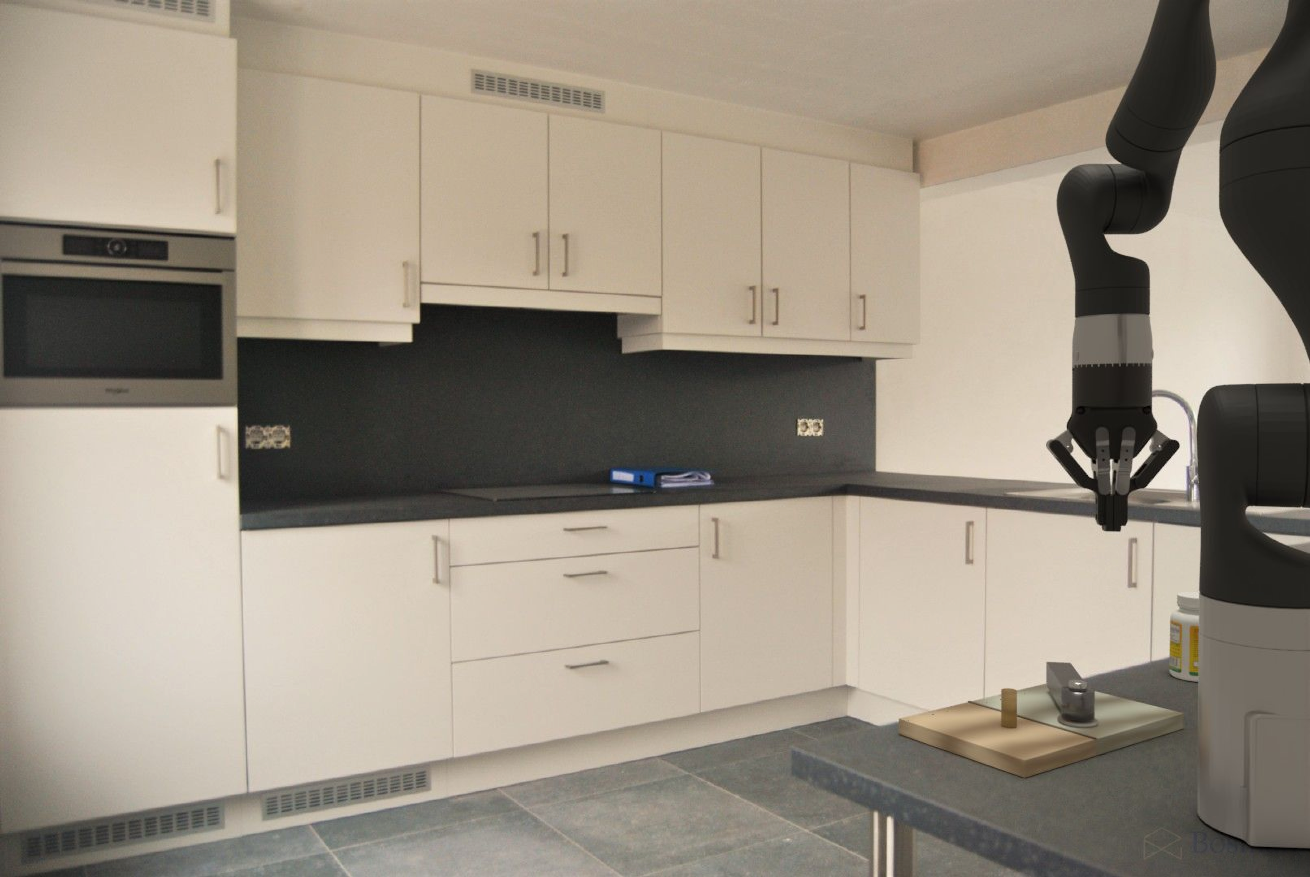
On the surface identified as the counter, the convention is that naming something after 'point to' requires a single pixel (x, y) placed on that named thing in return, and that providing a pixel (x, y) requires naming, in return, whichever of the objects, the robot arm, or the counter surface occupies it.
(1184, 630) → the supplement bottle
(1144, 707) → the lock plate
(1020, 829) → the counter surface
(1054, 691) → the lock bar
